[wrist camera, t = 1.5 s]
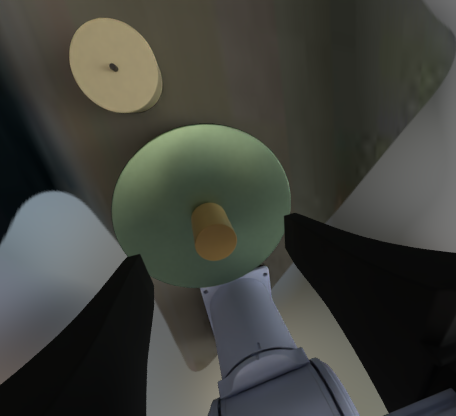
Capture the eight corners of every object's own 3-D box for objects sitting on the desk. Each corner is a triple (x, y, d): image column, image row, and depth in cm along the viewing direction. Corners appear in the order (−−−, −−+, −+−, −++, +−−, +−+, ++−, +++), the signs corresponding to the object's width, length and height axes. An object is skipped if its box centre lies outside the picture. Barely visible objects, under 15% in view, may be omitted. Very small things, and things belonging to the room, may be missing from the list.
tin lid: (288, 256, 20) (315, 291, 16) (149, 296, 18) (142, 346, 14) (278, 106, 14) (317, 104, 10) (82, 144, 13) (42, 159, 9)
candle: (169, 107, 17) (167, 105, 13) (111, 117, 17) (86, 120, 12) (151, 38, 15) (141, 6, 11) (85, 47, 15) (44, 18, 10)
